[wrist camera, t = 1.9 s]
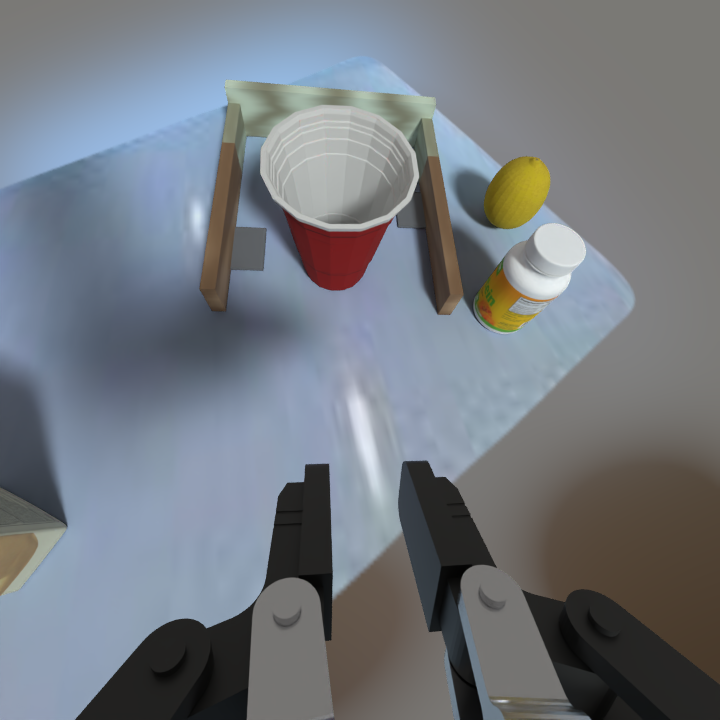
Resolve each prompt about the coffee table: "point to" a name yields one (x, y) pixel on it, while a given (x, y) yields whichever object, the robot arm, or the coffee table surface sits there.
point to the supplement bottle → (529, 278)
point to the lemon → (517, 192)
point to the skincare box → (23, 540)
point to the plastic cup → (338, 186)
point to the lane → (277, 102)
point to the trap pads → (252, 240)
